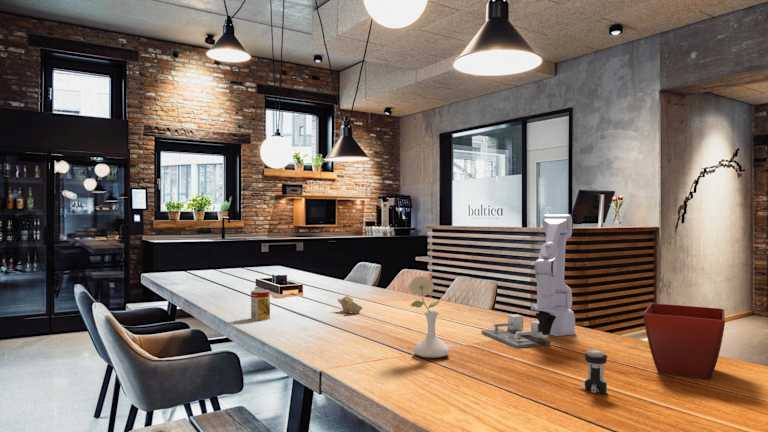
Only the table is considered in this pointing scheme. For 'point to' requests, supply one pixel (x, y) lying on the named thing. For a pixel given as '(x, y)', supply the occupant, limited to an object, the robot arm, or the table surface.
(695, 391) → the table surface
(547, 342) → the bar
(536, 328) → the sliding divider leg
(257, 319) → the canned food
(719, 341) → the plant pot
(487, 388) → the table surface
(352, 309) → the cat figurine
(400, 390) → the table surface
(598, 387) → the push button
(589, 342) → the table surface
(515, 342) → the bolt hole plate
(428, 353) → the flower in vase
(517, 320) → the fixed divider leg
